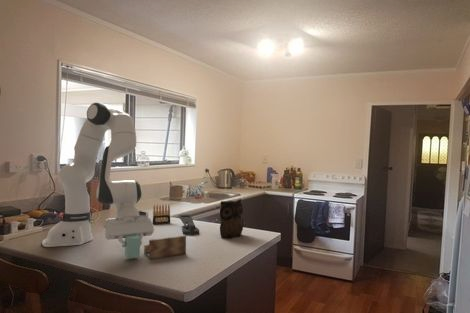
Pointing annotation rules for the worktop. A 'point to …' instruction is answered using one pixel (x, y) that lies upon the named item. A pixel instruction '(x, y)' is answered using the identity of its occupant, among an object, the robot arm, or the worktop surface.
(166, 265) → the worktop surface
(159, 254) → the board
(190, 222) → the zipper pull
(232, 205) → the owl
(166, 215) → the ammunition clip
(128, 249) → the cabinet block
